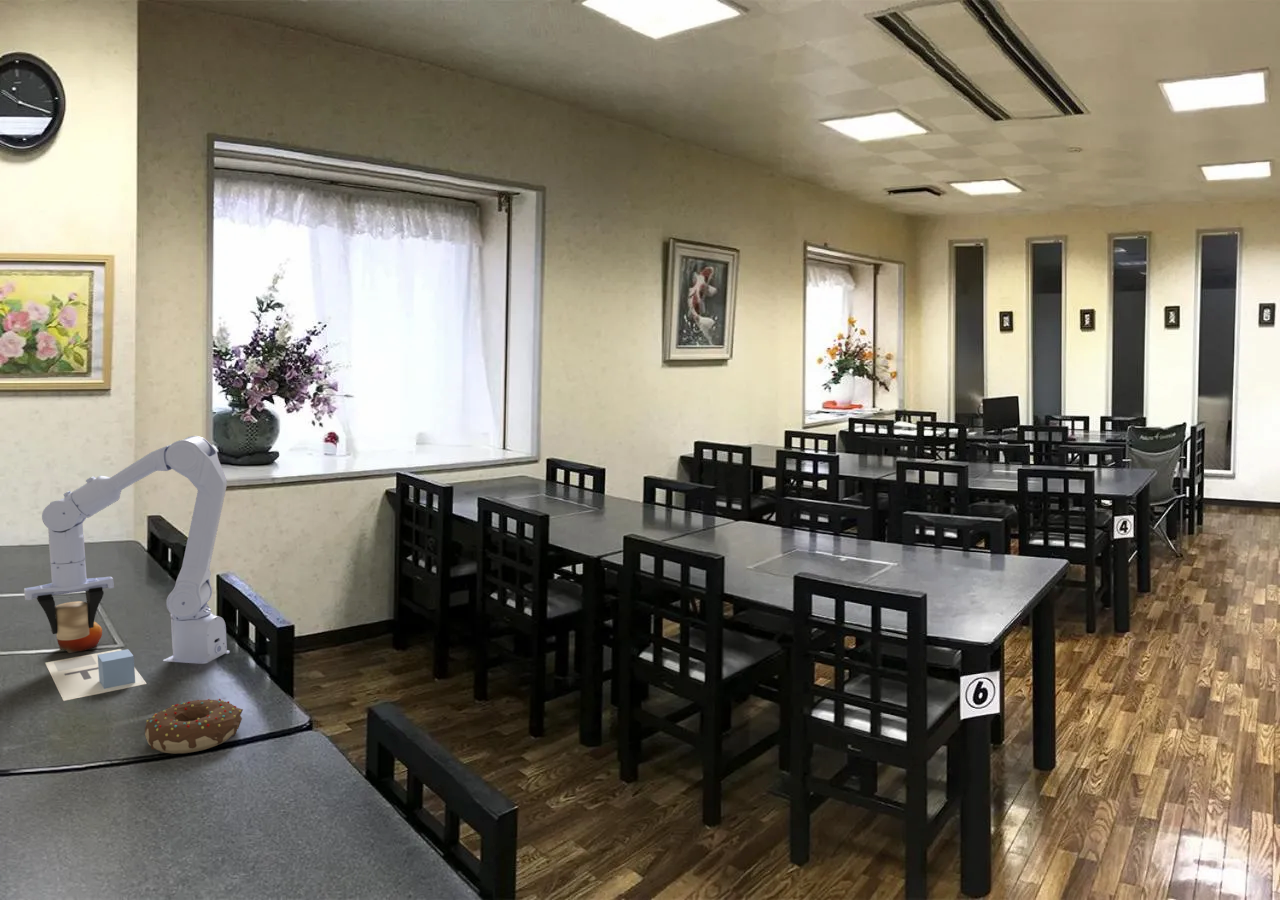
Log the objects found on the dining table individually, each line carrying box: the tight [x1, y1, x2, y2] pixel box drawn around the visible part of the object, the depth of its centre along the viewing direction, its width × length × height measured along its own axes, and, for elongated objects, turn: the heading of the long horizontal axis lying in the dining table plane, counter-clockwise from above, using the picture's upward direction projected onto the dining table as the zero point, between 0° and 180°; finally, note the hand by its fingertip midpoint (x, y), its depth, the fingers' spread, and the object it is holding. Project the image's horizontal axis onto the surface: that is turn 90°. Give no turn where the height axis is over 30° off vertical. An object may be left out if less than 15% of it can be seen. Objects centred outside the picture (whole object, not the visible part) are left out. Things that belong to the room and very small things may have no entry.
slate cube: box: [98, 648, 136, 689], centre depth 168 cm, size 5×5×5 cm
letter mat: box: [44, 648, 147, 702], centre depth 173 cm, size 13×25×1 cm, turn 39°
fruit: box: [56, 621, 103, 654], centre depth 187 cm, size 8×8×8 cm
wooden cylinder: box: [55, 600, 89, 640], centre depth 177 cm, size 5×5×6 cm
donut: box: [144, 698, 244, 754], centre depth 145 cm, size 14×14×5 cm
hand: (72, 629), depth 178 cm, fingers closed on wooden cylinder, 5 cm apart
